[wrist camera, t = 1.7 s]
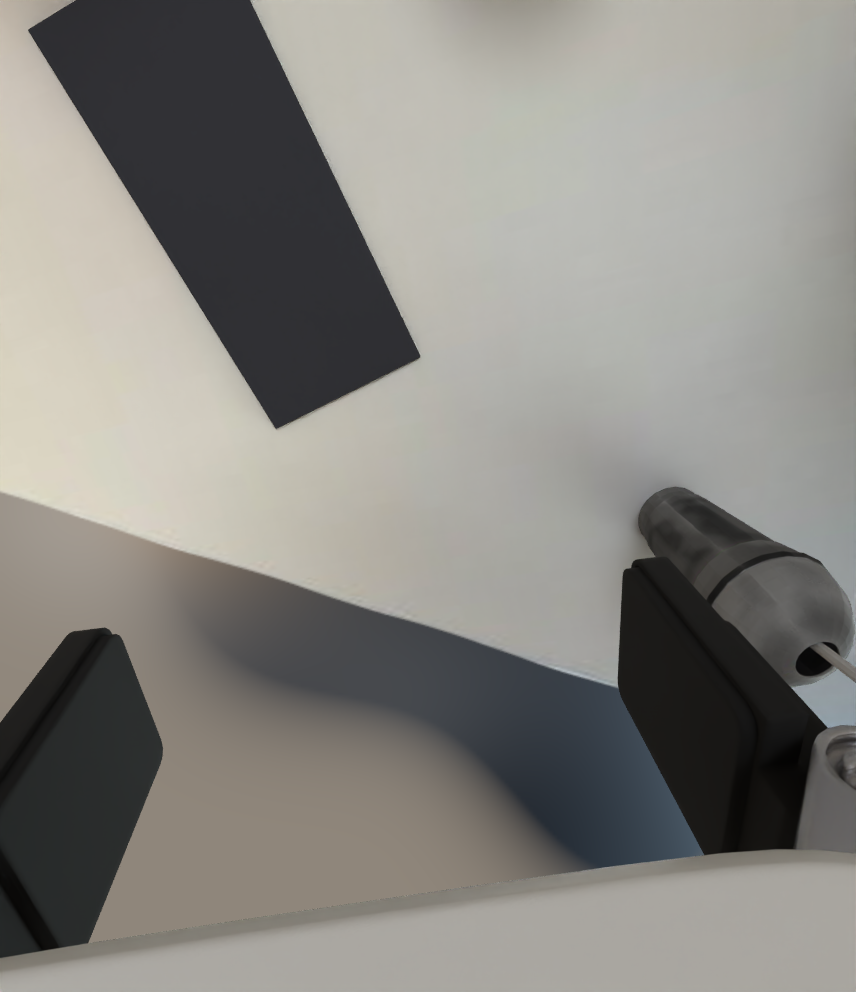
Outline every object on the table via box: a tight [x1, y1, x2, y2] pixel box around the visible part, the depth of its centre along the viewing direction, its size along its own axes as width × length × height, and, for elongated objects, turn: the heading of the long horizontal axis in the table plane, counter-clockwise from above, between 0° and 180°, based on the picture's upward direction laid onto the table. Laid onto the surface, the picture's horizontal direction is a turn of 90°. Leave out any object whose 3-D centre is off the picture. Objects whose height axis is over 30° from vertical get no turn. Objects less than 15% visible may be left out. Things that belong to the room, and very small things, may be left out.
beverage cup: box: [639, 487, 856, 687], centre depth 33 cm, size 7×7×20 cm
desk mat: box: [28, 0, 420, 429], centre depth 32 cm, size 10×22×1 cm, turn 25°
